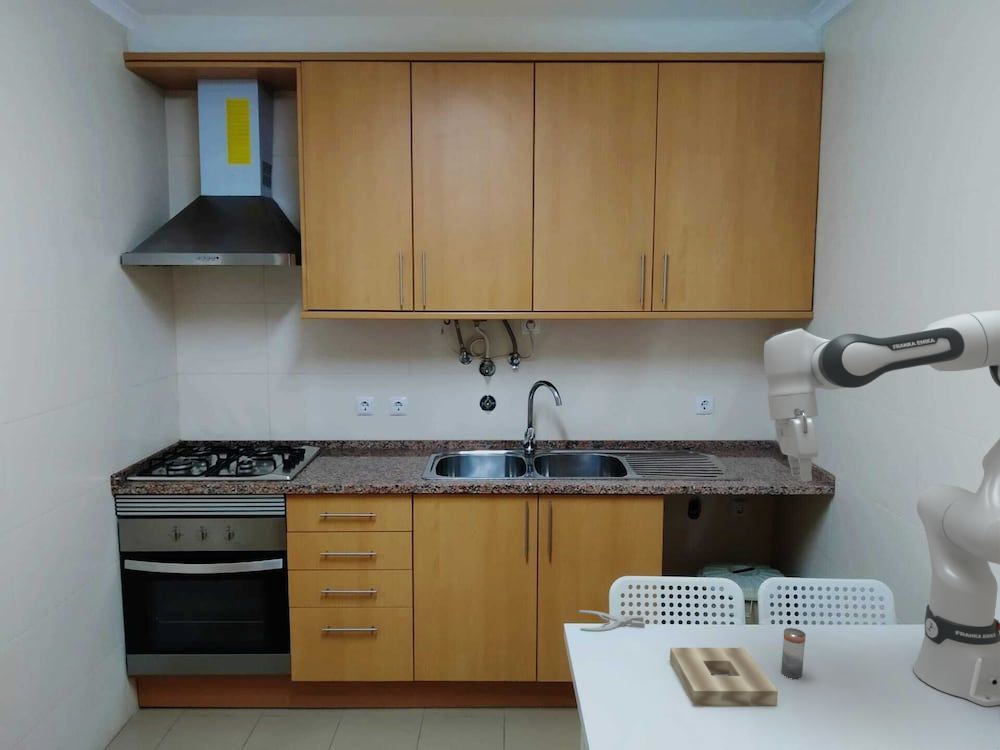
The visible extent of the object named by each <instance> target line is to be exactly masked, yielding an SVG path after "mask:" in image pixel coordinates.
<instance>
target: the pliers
mask: <svg viewBox="0 0 1000 750" xmlns="http://www.w3.org/2000/svg"><path fill="white" fill-rule="evenodd" d="M578 613H579V614H587V615H594V616H597V617H599V618H600V619H602V620H603V621H606V622H605V623H603V624H601V626H599V627H580V629H579V630H580V631H582V632H591V633H592V632H593V633H594V632H597V633H599V632H607V631H612V630H616V629H617V628H618V629H619V628H622V627H623V628H624V627H629V628H635V629H636V628H637V629H645V625H646V624H645V623H646V622H644V616H642V615H624V616H622V617H621V618H620V617H617V616H615V615H611V614H609V613H606V612H602V611H596V610H583V609H581V610H578ZM610 621H612V622H614V623H612V624H611V623H610ZM603 625H605V626H603Z"/></svg>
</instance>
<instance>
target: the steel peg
mask: <svg viewBox="0 0 1000 750" xmlns="http://www.w3.org/2000/svg"><path fill="white" fill-rule="evenodd" d="M782 641H783V642H782V657H781V669H780V674H781V673H782V674H783V675H784V676H783V675H782V674H781V675H782V676H783V677H785V676H786V677H785V678H787V677H788V678H787V679H789V678H792V679H791V680H794V679H798V680H800V679H799V678H801V677H803V668H804V658H805V657H804V656H805V644H806V632H804V631H803V630H801V629H799V628H793V627H787V628H785V629H784V630H783V640H782ZM801 679H802V678H801Z"/></svg>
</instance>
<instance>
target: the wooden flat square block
mask: <svg viewBox="0 0 1000 750" xmlns="http://www.w3.org/2000/svg"><path fill="white" fill-rule="evenodd" d="M669 650H670V651H669V652H670V653H669V662H671V663H670V664H671V667H672V668H673V670H674V671H675V673H676V676H677V677H678V680H679V682H680V683H681V685H682V687H683V689H684V690H685V693H686V694H687V696H688V699H689V700H690V702H691V704H692V705H693V707H777V705H778V693H779V690H777V688H776V686H774V683H772V681H770V679H769V678H768V676H767V675H766V673H765V672H764V671H763V669H762V668H761V667H760V666H759V664H758V663H757V662H756V661H755V659H754V658H753V656H752V655H751V653H749V651H748V650H747V648H745V647H670V649H669ZM711 674H713V675H711ZM714 674H718V675H714ZM721 674H723V675H721ZM724 674H729V675H730V676H729V675H724Z"/></svg>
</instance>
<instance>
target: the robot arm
mask: <svg viewBox="0 0 1000 750" xmlns="http://www.w3.org/2000/svg"><path fill="white" fill-rule="evenodd" d="M763 363H764V364H763V365H764V367H763V368H764V373H765V375H764V376H765V379H766V381H767V384H768V392H767V399H768V400H767V401H768V409H769V417H770V420H771V421H774V425H775V431H776V436H777V440H778V446H779V448H780V452H781V453H782V454H783V455H786V456H787V460H788V462H789V463H788V464H789V467H790V472H791V475H792V477H793V478H800V480H801V481H802V482H812V480H813V475H812V468H813V467H812V466H813V460H812V458H817V457H818V455H819V447H818V441H817V435H816V429H815V423H814V420H813V419H812V417H814V418H815V417H819V411H818V404H817V397H816V396H817V395H816V389H818V388H819V389H824V390H828V391H830V390H840V389H846V388H848V389H851V388H853V389H854V388H855V389H856V388H860V387H863V386H866V385H868V384H870V383H872V382H873V381H874V380H877V379H878V378H879V377H881V376H882V375H884V374H886V373H889V372H893V371H898V370H903V369H908V368H909V369H910V368H915V367H922V366H929V367H931V368H933V369H934V370H937V371H938V372H961V371H962V372H963V371H971V370H976V369H981V368H982V369H983V368H987V367H988V370H989V374H990V376H991V378H992V380H993V382H994V383H995V384H996V385H997V387H999V388H1000V309H990V310H981V311H973V312H967V313H962V314H961V313H960V314H956V315H951V316H948V317H945V318H941V319H938V320H937V321H936V320H935V321H934V322H932V323H928V324H927V325H926V326H925V327H924V328H923V330H921V331H917V332H912V333H905V334H900V335H895V336H894V335H893V336H888V337H873V336H869V335H865V334H860V333H845V334H842V335H841V334H840V335H838V336H836V337H834V338H833V339H827V338H824V337H820V336H816V335H815V334H812V333H810V332H808V331H806V330H804V329H803V328H801V327H793V328H792V327H791V328H789V329H785V330H782V331H779V332H776V333H774V334H772V335H770V336H769V337H767V338H766V340H765V342H764V344H763ZM981 463H982V464H981V465H982V469H983V476H982V477H983V478H982V480H981V483H980V485H979V488H978V489H977V490H976V492H972V491H970V490H967V489H966V488H964V487H960V486H956V485H947V484H934V485H932V486H930V487H928V488H926V489H924V490H923V491H922V493H921V494H920V496H919V498H918V500H917V502H916V511H917V515H918V516H919V518H920V520H921V522H922V524H923V528H924V530H925V535H926V540H927V544H928V545H927V546H928V551H929V557H930V564H931V565H930V566H931V578H930V581H931V582H930V592H929V594H930V595H929V604H927V605H926V609H925V614H924V615H925V616H924V636H923V640H922V644H921V648H920V650H919V653H918V655H917V658H916V660H915V662H914V664H913V667H912V670H913V672H914V674H915V675H916V676H917V677H918V679H920V680H921V681H923V682H924V683H925V684H928V685H929V686H931V687H932V688H934V689H936V690H939V691H941V692H943V693H946V694H949V695H951V696H952V695H953V696H956V697H958V698H959V697H960V698H962V699H966V700H969V701H970V702H973V703H975V704H977V705H980V706H984V707H993V706H994V707H995V706H1000V622H999V620H998V619H996V618H995V617H996V616H995V615H996V606H997V598H998V597H997V596H998V591H999V589H998V588H999V587H998V582H997V579H996V576H995V574H994V572H993V571H992V568H991V567H990V563H993V564H997V565H1000V438H999V439H998V440H997V441H996V442H995V443H994V444H993V446H992V447H991V448H990V449H989V450H988V452H987V453H986V454H985V455H984V456H983V459H982V462H981Z"/></svg>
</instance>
